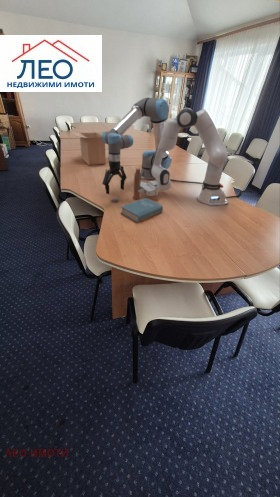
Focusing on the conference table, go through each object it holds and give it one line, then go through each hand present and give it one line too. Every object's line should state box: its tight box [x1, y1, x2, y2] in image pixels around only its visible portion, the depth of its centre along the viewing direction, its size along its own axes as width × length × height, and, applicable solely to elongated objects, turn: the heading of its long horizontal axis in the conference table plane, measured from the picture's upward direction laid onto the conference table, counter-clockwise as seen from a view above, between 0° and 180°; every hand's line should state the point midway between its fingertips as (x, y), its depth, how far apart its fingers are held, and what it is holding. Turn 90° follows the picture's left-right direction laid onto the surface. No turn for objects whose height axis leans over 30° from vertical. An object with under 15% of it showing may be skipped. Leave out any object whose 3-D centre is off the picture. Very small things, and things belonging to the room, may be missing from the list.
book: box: [120, 197, 164, 223], centre depth 146 cm, size 23×16×5 cm
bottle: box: [132, 167, 142, 200], centre depth 160 cm, size 5×5×22 cm
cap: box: [111, 197, 119, 203], centre depth 160 cm, size 4×4×2 cm
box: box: [70, 129, 107, 166], centre depth 229 cm, size 44×36×27 cm
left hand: (115, 191), depth 156 cm, fingers open, 13 cm apart
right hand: (135, 189), depth 162 cm, fingers closed on bottle, 5 cm apart
